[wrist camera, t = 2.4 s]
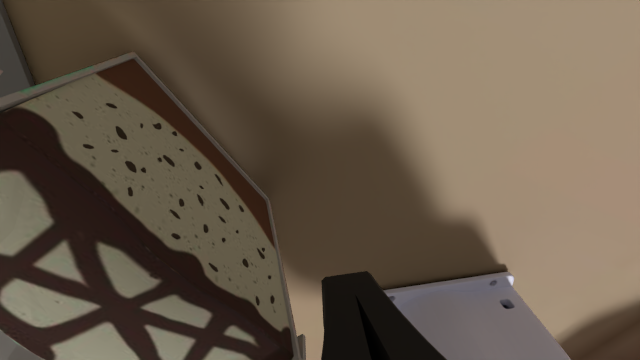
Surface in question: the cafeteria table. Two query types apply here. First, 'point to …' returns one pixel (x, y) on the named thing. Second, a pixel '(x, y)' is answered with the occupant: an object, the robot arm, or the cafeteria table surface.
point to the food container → (131, 229)
